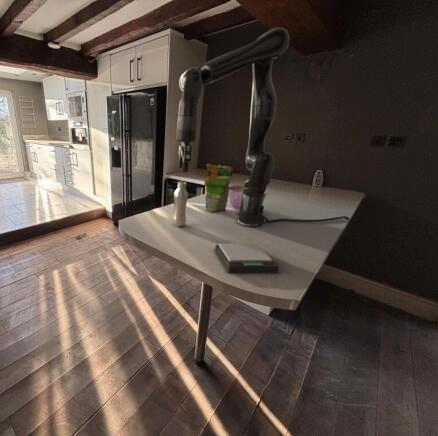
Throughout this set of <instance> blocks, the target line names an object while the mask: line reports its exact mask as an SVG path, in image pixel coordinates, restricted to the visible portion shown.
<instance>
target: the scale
mask: <svg viewBox="0 0 438 436" xmlns="http://www.w3.org/2000/svg"><path fill="white" fill-rule="evenodd" d="M214 247H215V248H214V251H215V253H216V255H217V257H218V258H219V260H220V261H221V262H222V264H223V266H224V268H225V270H226V272H227V273H229V274H247V273H249V274H253V273H254V274H255V273H256V274H259V273H260V274H262V273H263V274H266V273H267V274H273V273H274V274H275V273H276V274H278V272H279V268H280V266H279V264H278V263H276V262H275V261H274V259H273V258H272V257H271V256H270V255H268V253H267V252H266V251H264V249H263V248H262V247H261V246H260V245H259V244H258V243H218V244H215V246H214Z"/></svg>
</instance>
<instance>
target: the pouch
mask: <svg viewBox="0 0 438 436" xmlns="http://www.w3.org/2000/svg"><path fill="white" fill-rule="evenodd" d="M205 166H206V168H207V169H206V170H207V174H205V176H206V179H205V180H204V186H205V206H204V207H205V210H206V211H207V212H211V213H215V212H217V211H226V209H227V205H228V204H227V203H228V201H229V195H228V194H229V186H230V183H231V179H232V177H233V174H234V167H233V166H231V165H221V164H218V165H216V164H211V163H206V165H205Z"/></svg>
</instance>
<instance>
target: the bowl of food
mask: <svg viewBox="0 0 438 436" xmlns="http://www.w3.org/2000/svg"><path fill="white" fill-rule="evenodd" d="M243 189H244V184H232V185H229V194H228V202H229V204H230V206H231V207H232V208H234V209H235V210H236V211H238V212H239V211H240V205H241V200H242V195H243ZM267 195H268V190H266V191H265V196H264V200H263V202H264V201H265V198H266V197H267Z"/></svg>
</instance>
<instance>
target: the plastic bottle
mask: <svg viewBox="0 0 438 436" xmlns="http://www.w3.org/2000/svg"><path fill="white" fill-rule="evenodd" d="M176 187H177V188H176V190H174V192H173V212H172V213H173V214H172V217H171V223H172V225H173V226H174V227H183V226H185V225H186V222H187V215H186V209H187V203H188V198H189V193H188V191H187V189H186V188H187V182H185V181H178V182H177V186H176Z"/></svg>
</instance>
